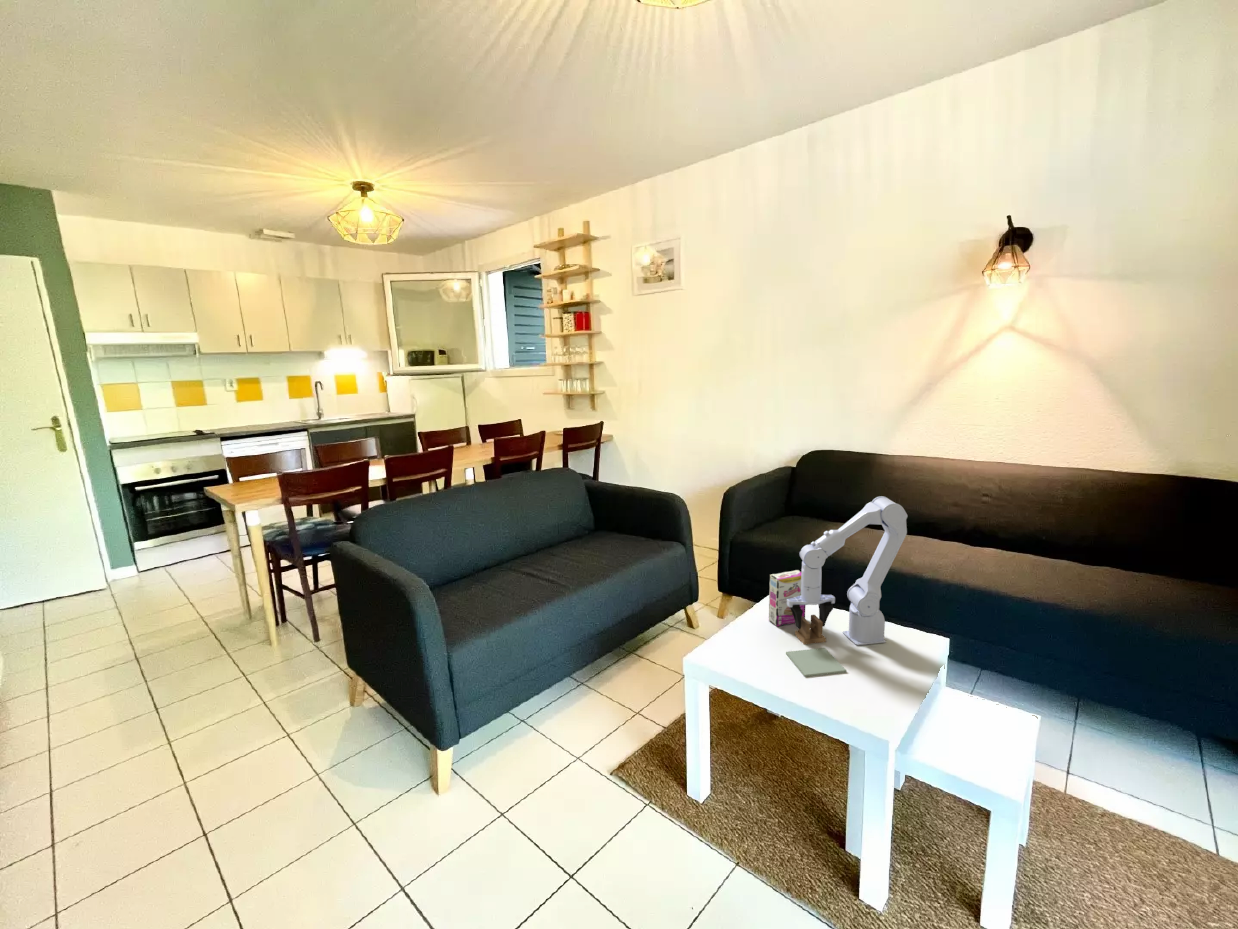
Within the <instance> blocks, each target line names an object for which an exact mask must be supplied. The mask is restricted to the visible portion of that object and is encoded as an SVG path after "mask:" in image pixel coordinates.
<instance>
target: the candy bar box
mask: <svg viewBox="0 0 1238 929" xmlns="http://www.w3.org/2000/svg"><path fill="white" fill-rule="evenodd" d="M768 588H769V591H768V592H769V593H768V594H769V600H768V621H769V622H770V623H772V624H773V625H774V626H775V627H781V626H785V625H791V624H795V620H794V616H793V613H792V611H791V609H790V607H788V606H787V599H790V598H794V597H797V596H801V571H800V570H799V569H795V570H791V571H783V572H778V573H772V574H769V587H768ZM800 607H801V610H803V613H802V616H803V617H804V618H805V619H806V605H800Z"/></svg>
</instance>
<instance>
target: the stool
mask: <svg viewBox="0 0 1238 929" xmlns="http://www.w3.org/2000/svg"><path fill="white" fill-rule="evenodd" d="M823 629H824V627H823V622H822V621H821V620H820V619H819V616H816V614H811V615H810V622H809V621H808V620H807V619H806V617H805V618H804V617H803V616H802V618H801V629H798V628H797V630H794V635H795V636H796V638H798V640H799V641H800V642H801V643H802V644H803V645H811V644H820V643H822V644H823V643H826V642H827V637H825V635H824V634H823Z"/></svg>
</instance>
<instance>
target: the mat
mask: <svg viewBox="0 0 1238 929" xmlns="http://www.w3.org/2000/svg"><path fill="white" fill-rule="evenodd" d="M785 655H786V656H787V657H788V659H790V661H791V662H792V664H794V666H795V667H796V668H797V669H798V671H799V672H800V673H801V674H802V675H803V677H805V678H808V677H816V676H823V675H834V674H842V673H843V674H844V673H847V671H848V670H847V669H846V668H845V667H844V665H842V664H841V663H840V662H839V661H838V660H837V658H835V656H833V655H832V654H831V653H830V651H828V650H827V649H826V648H825V647H821V648H818V647H817V648H811V649H810V648H809V649H800V650H793V651H792V650H791V651H786V652H785Z"/></svg>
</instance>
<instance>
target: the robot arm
mask: <svg viewBox="0 0 1238 929" xmlns="http://www.w3.org/2000/svg"><path fill="white" fill-rule="evenodd" d="M907 519H908V514H907V512H906V510H905V509H904V507H903V506H902V505H901V504H899V503H896V502H894V501H893V500H891V499H890V498H888V497H886V496H882V495H881V496H880V495H879V496H876V497H875V498H873V499H872V501H870V502H868V503H866V504H865V505H864V507H863V508H862V509H861V510H860V511H858V512H857V513H856V514H855V515H854V516H852V517H851V518H850V519H849V520H847V521H846V522H845V523H844V524H843V525H841V526H840V527H839V528H838V529H829V530H825V531H824V532H823V535H822V536H820V537H819V538H817V539H816V540H815V541H812V542H810V544H805V545H804V546H803V547H802V548H801V549H800V551H799V552H798V553H799V554H798V555H799V557H800V559H801V560H802V561H801V571H800V572H801V596H797V597H794V598H790V599H787V606H788V607H790V609H791V611H792V613H793V616H794V620H795V623H794V624H795V627H796V628H797V630H798V629H801V618H802V613H803V610H801V607H800V605H805V606H807V605H808V606H809V605H811V606H817V605H818V611H819V612H818V618H819V619H820V620H821V621H822V622H823V628H824V627H825V626H826V623H827V620H828V619H829V618H828V617H829V615H830V614H831V612H832V611H833V610H834V605H833V604H835V603H836V597H835V596H834V595H832V594H822V572H823V571H822V567H823V566H824V564H825V562H826V559H828V557H830V556H832V555H833V554H834V553H835V552H837V551H838V550H840V549H841V548H842V547H844V546H845V544H846V543H845V542H846V539H848V538H850V536H853V535H854V534H855V533H857V532H859V531H861V530H862V529H863V528H865V527H867V526H868V525H877V526H879V525H881V526H882V528H883V530H884V533H883V535H882V537H881V539H880V540H879V543H878V544H877V547H876V549H875V550H874V553H873V555H872V557H871V559H870V561H869V563H868V565H867V568H866V569H865V571H864V573H863V575H862V577H860V578H858V579H856V580H855V583H853V584H852V585H851V586H850V587H849V588H848V589H847V591H846V592H847V593H846V595H847V599H848V601H849V602H850V605H849V618H848V619H849V620H848V630H844V631H842V634H843V635H844V636H845V637H847V638H848V639H849V640H850V641H851V642H852V643H853V644H854V645H855V646H864V645H872V644H882V643H886V640H885V625H886V620H885V616H884V614H883V613H882V611H881V610H880V601H881V598H882V590H881V586H882V584H883V582H884V581H885V578H886V576H887V574H888V573H889V571H890V569H891V567H892V566H893V562H894V560H895V559H896V557H897V555H898V552H899V550H900V548H901V546H902V544H903V542H904V541H905V539H906V537H907V534H908V528H907Z"/></svg>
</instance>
